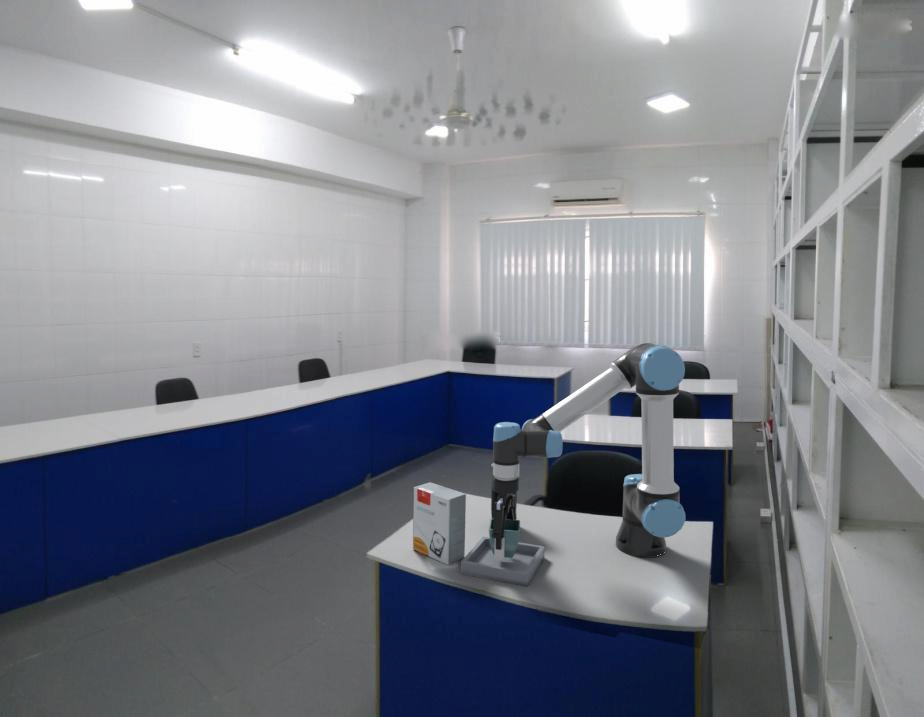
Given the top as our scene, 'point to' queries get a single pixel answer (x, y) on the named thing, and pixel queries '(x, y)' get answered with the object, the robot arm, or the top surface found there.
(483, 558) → the tray
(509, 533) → the flower pot
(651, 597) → the top surface
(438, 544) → the hard drive box
